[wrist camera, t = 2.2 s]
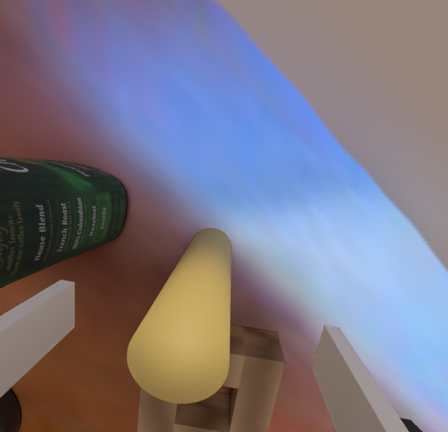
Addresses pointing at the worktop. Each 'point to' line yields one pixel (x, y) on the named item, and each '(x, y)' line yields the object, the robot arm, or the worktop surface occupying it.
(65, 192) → the coffee jar
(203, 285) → the peg
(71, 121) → the worktop surface
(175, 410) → the socket block
